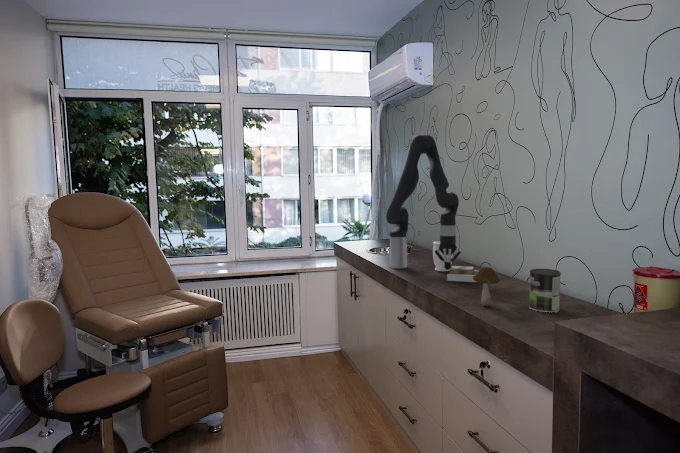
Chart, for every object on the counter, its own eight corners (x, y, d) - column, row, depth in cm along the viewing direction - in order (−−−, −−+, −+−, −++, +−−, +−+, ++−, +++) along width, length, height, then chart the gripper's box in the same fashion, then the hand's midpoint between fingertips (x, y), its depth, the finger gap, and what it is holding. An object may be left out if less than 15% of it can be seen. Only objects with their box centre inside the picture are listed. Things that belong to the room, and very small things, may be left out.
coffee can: (538, 313, 162) (538, 274, 161) (524, 305, 172) (524, 269, 171) (565, 312, 163) (566, 273, 161) (550, 304, 173) (551, 268, 172)
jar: (453, 272, 235) (453, 243, 233) (432, 271, 237) (432, 243, 235) (452, 268, 245) (452, 240, 244) (432, 267, 247) (432, 240, 246)
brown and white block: (449, 279, 220) (449, 268, 219) (451, 276, 227) (451, 265, 226) (473, 280, 216) (473, 269, 216) (474, 277, 223) (474, 266, 222)
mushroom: (488, 300, 180) (488, 263, 178) (505, 308, 169) (505, 269, 167) (467, 302, 178) (467, 265, 176) (482, 311, 167) (483, 270, 165)
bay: (447, 280, 216) (447, 274, 216) (449, 275, 228) (449, 269, 228) (480, 282, 211) (480, 275, 211) (481, 276, 223) (481, 270, 223)
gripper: (432, 235, 219) (432, 270, 220) (461, 235, 214) (460, 271, 216) (435, 233, 226) (434, 267, 228) (462, 233, 221) (462, 268, 223)
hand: (447, 269), depth 222 cm, fingers closed
